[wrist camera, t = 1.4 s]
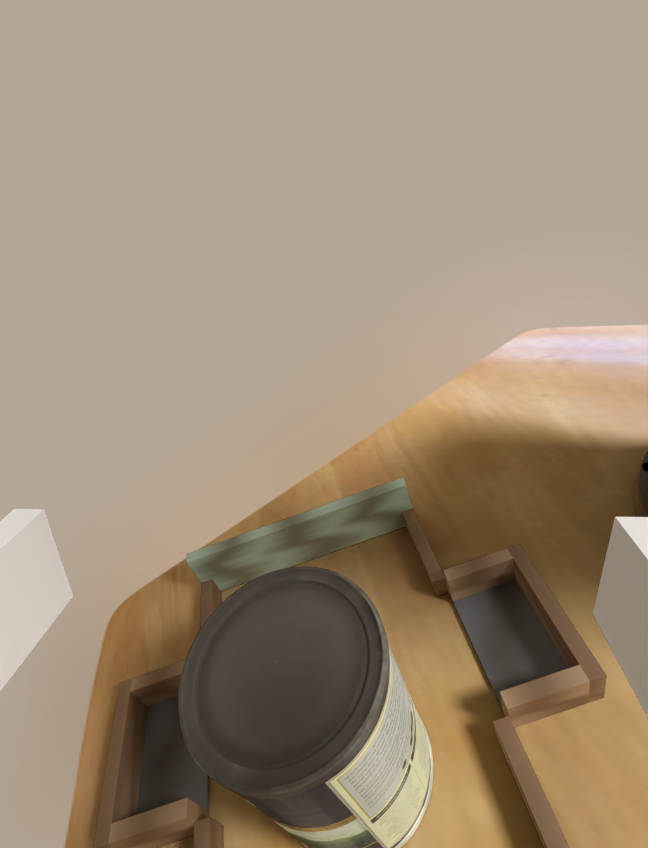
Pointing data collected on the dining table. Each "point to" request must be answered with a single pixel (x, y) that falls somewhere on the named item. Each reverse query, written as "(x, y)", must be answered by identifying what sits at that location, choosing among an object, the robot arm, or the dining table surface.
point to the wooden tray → (302, 541)
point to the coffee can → (308, 712)
